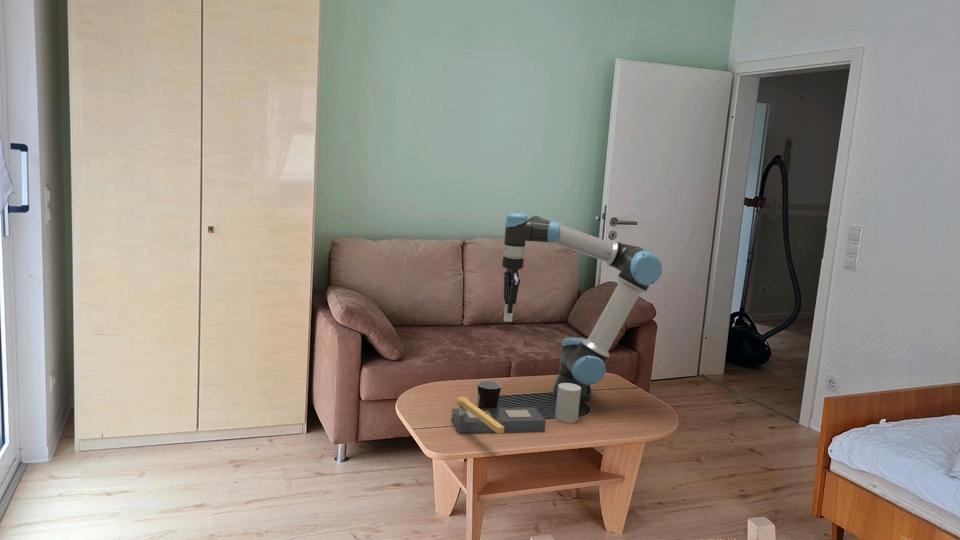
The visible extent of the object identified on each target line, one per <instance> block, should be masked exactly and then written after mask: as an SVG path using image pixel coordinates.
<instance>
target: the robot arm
mask: <svg viewBox="0 0 960 540" xmlns="http://www.w3.org/2000/svg"><path fill="white" fill-rule="evenodd" d="M504 227H505V229H504V241H503V242H504V244H503V247H502V251H503V257H502V265H501V267H503V268H504V269H506V272H503V300H504V312H503V322H511V323H512V322H513V317H514V316H513V315H514V314H513V313H514V306H515V305H516V304H517V299H518V293H519V286H520V284H521V279H520V278H519V276H520V275H519V270H522V269H523V268H524V262H525V259H524V257H525V253H526V242H537V243H548V244H554V245H557V246H560V247H562V248H566V249H568V250H570V251H575V252H577V253H580V254H583V255H585V256H588V257H591V258H595V259H597V260H600V261H603V262H604V263H605V265H606V266H609V267H612V268H614V269H616V270H618V271H619V273H618V275H617V279H618V284H617V286H616V287H615V289H614V291H613V293H612V295H611V297H610V298H609V299H608V302H607V303H606V305H605V307H604V309H603V311H602V313H601V314H600V316H599V318H598V319H597V322H596V323H595V325H594V327H593V329H592V330H591V332H590V334H589V335H588V338H583V337H575V336H573V337H565V338H563V339H562V343H561V346H560V347H561V351H560V361H559V369H558V371H559V372H558V375H557V377H556V380H555V382H554V384H553V387H552V395H553V396H555V397H556V398H557V392H558V385H559V384H561V383H572V384H576V385H578V386H580V387H581V393H580V402H579V403H581V402H587V401H590V399H591V398H592V388H591V386H592V385H595V384H598V383H599V382H601V381H602V380H603V379H604V377H605V375H606V372H607V370H606V364H607V362H608V360H609V359H610V353H609V350H610V348H611V346H612V344H613V343H614V340H615V339H616V337H617V335H618V334H619V332H620V330H621V328H622V327H623V325H624V323H625V321H626V319H627V318H628V316H629V314H630V312H631V311H632V308H633V307H634V305H635V303H636V301H637V300H638V298H639V296H640V295H641V294H644V293H647V291H648V289H649V287H650V286H651V285H654V284H655V283H657V282H658V281H659V280H660V278H661V276H662V273H663V265H662V261H661V260H660V258H659V257H658V256H657V255H656V254H655V253H653V252H652V251H649V250H646V249H644V248H643V247H640V246H638V245H637V246H636V245H632V244H626V243H622V242H619V241H616V240H615V241H612V242H611V241H608V240H605V239H603V238H599V237H597V236H594V235H591V234H589V233H585V232H583V231H579V230H577V229H574V228H570V227H567V226H565V225H563V224H560V223H559V222H557V221H552V220H548V219H545V218H542V217H541V216H538V215H531V216H529V217H528V215H527V214H524V213H517V212H516V213H515V212H510V213H508V214H507V215H506V220H505V225H504Z"/></svg>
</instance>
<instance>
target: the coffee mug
mask: <svg viewBox="0 0 960 540" xmlns="http://www.w3.org/2000/svg"><path fill="white" fill-rule="evenodd" d="M501 389H502V384H501V383H500V382H498V381H495V380H480V381H478V382H477V402H478V403H477V405H478V406H477V407H478V408H498V405H499V400H500V395H501Z"/></svg>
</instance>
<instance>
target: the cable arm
mask: <svg viewBox="0 0 960 540" xmlns="http://www.w3.org/2000/svg"><path fill="white" fill-rule="evenodd" d="M456 403H457V406H463V407H464V408H465V409H467V410H468V411H469V412H470V413H472V414H473V415H474V416H476V417H477V418H478V419H480V420H481V421H482V422H483V423H485V424H486V425H487V426H489V427H490V428H491V429H493V430H494V431H495V432H496V433H495V434H503V433H504V426H502V425H501V424H500V423H498V422H497V421H495V420H494V419H493V418H491V417H490V416H489V415H487V414H486V413H485V412H483V411H482V410H481V409H479V408H478V406H477V405H475V404H474V403H472V402H471V401H470V400H469V397H467V396H458V397H457V402H456ZM504 434H505V433H504Z"/></svg>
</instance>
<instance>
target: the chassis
mask: <svg viewBox="0 0 960 540" xmlns="http://www.w3.org/2000/svg"><path fill="white" fill-rule="evenodd" d="M458 406H459V405H458ZM479 409H481V410H482V411H483V412H485V413H486V414H487V415H489V416H490V417H491V418H493V419H494V420H495V421H497V422H498V423H500V424H501V425H502V426H504V434H506V433H507V432H508V433H536V432H537V433H539V432H545V431H546V430H545V429H546V419H545V418H544V417H543V415H542V414H541V413H540V412H539V411H538V409H537V408H536V407H530V406H529V407H497V408H479ZM450 420H451V422H452V424H453V425H454V427H455V429H456V431H457V433H458V434H459V435H462V434H463V435H464V434H466V435H467V434H497V433H496V432H495V431H494V430H493V429H491V428H490V427H489V426H487V425H486V424H485V423H483V422H482V421H481V420H480V419H478V418H477V417H476V416H474V415H473V414H472V413H470V412H469V411H468V410H467V409H465V408H464V407H463V406H459V408H451V419H450Z"/></svg>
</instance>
